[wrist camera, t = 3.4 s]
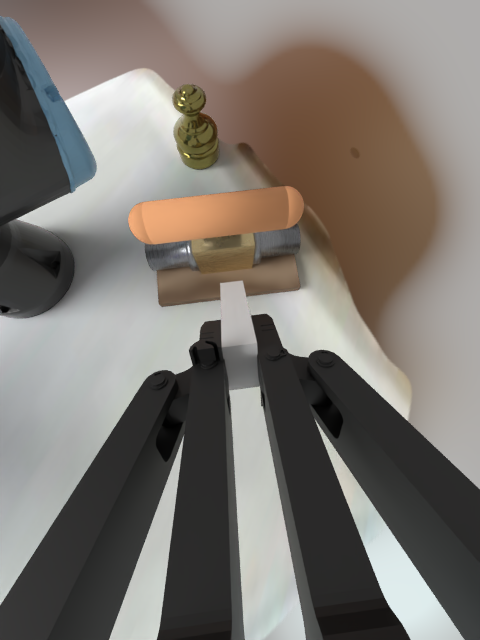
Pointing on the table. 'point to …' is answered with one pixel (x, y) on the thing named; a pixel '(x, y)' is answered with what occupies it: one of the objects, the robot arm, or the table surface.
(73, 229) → the table surface
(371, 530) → the table surface
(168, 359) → the table surface
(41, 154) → the robot arm
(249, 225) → the valve lever
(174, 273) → the pipe valve
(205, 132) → the gold pawn figurine
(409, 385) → the table surface
